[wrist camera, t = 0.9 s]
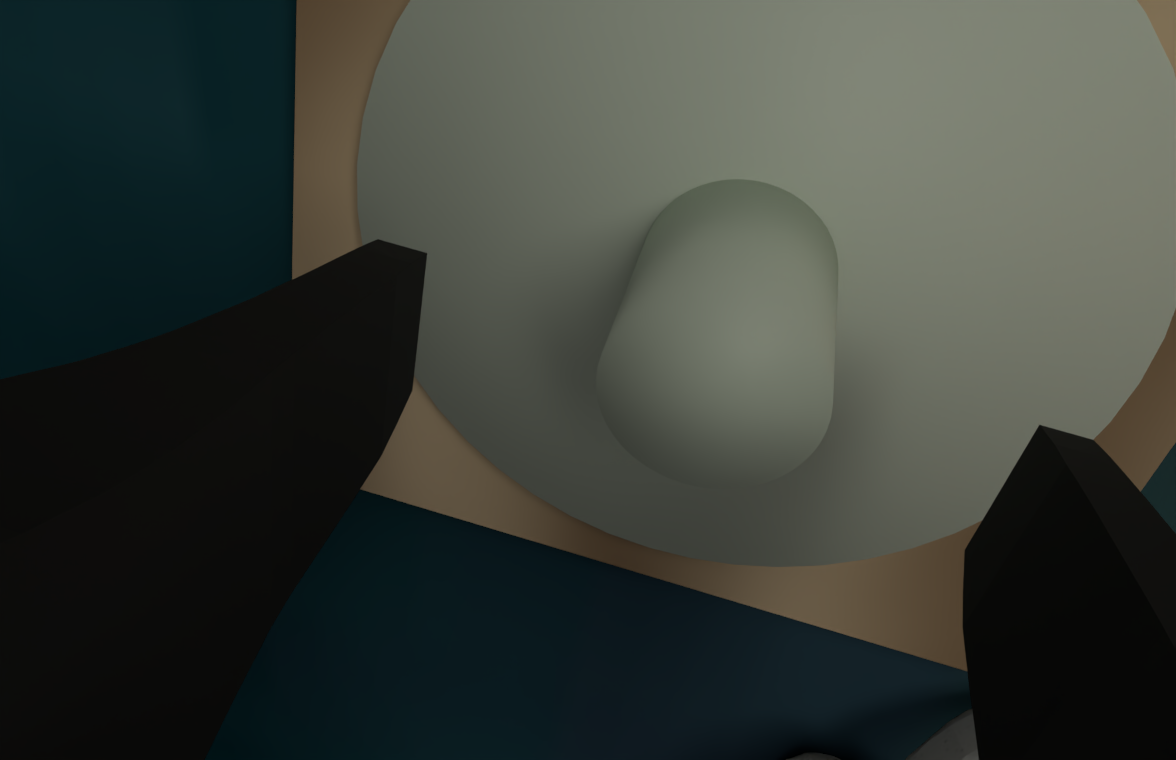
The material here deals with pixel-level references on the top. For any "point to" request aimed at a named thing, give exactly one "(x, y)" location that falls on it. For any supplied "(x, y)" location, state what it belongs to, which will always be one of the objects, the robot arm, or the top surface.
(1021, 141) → the lid
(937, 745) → the ceramic mug
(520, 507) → the trivet
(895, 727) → the top surface
